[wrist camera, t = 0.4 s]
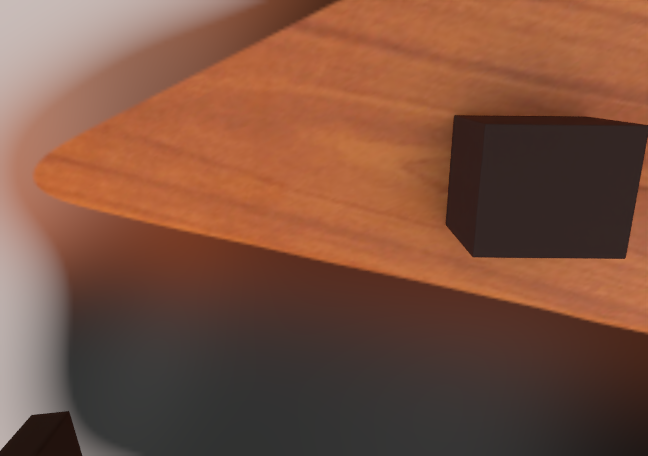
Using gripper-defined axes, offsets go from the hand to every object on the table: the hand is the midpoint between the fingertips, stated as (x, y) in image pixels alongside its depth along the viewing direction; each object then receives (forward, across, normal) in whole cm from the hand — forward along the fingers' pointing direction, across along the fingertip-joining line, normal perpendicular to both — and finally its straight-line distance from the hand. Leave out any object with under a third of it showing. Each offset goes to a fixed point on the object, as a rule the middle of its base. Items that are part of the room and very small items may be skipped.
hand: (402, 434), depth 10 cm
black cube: (+19, +9, +1) cm, 21 cm away
